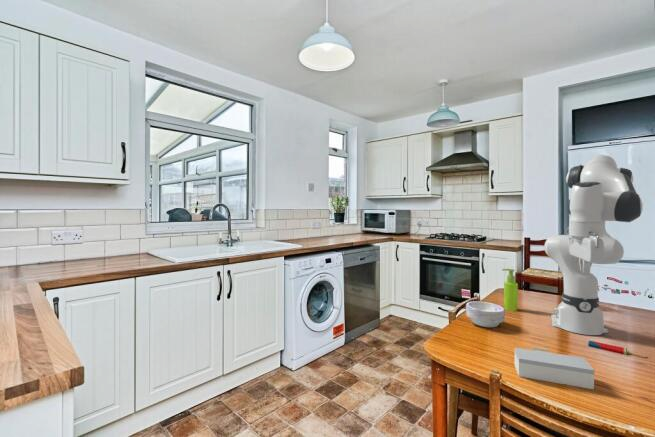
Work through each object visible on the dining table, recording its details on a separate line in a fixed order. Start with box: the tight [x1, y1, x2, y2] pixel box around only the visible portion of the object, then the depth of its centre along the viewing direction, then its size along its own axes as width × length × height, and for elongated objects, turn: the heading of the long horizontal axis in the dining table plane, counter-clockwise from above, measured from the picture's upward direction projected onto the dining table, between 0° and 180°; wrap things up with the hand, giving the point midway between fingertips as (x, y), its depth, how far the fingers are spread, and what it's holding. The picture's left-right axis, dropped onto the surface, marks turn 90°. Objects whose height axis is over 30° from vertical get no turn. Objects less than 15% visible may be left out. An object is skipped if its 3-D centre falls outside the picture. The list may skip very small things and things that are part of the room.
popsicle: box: [587, 340, 647, 359], centre depth 112 cm, size 4×2×15 cm
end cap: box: [513, 347, 595, 390], centre depth 95 cm, size 8×18×5 cm, turn 67°
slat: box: [532, 346, 550, 353], centre depth 101 cm, size 16×4×3 cm, turn 158°
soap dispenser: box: [501, 268, 519, 312], centre depth 159 cm, size 6×7×20 cm
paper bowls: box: [465, 300, 506, 328], centre depth 138 cm, size 15×15×8 cm
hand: (585, 272), depth 105 cm, fingers closed
